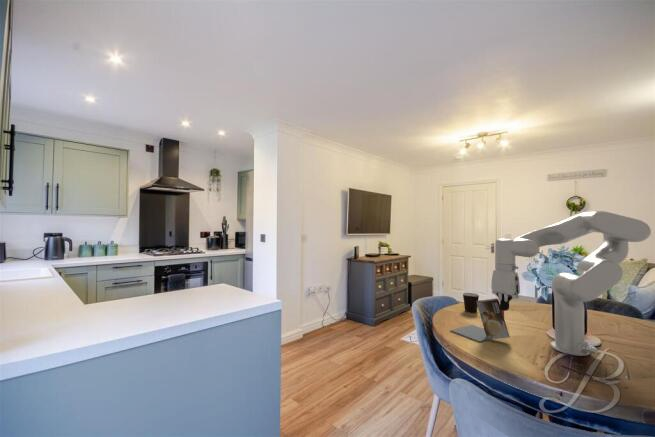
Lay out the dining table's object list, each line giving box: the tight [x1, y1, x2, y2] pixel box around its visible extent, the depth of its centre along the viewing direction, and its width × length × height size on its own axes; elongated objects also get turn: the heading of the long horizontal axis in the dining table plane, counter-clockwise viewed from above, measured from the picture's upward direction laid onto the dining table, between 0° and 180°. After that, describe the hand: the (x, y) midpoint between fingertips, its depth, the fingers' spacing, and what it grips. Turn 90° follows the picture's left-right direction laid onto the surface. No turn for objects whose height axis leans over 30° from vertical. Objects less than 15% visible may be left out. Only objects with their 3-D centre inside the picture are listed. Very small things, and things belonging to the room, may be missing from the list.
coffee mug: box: [462, 292, 480, 314], centre depth 174 cm, size 12×9×10 cm
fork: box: [560, 364, 621, 385], centre depth 102 cm, size 3×16×2 cm, turn 29°
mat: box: [450, 324, 491, 343], centre depth 140 cm, size 15×16×1 cm
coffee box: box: [476, 297, 511, 340], centre depth 133 cm, size 9×6×16 cm
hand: (504, 309), depth 128 cm, fingers closed
